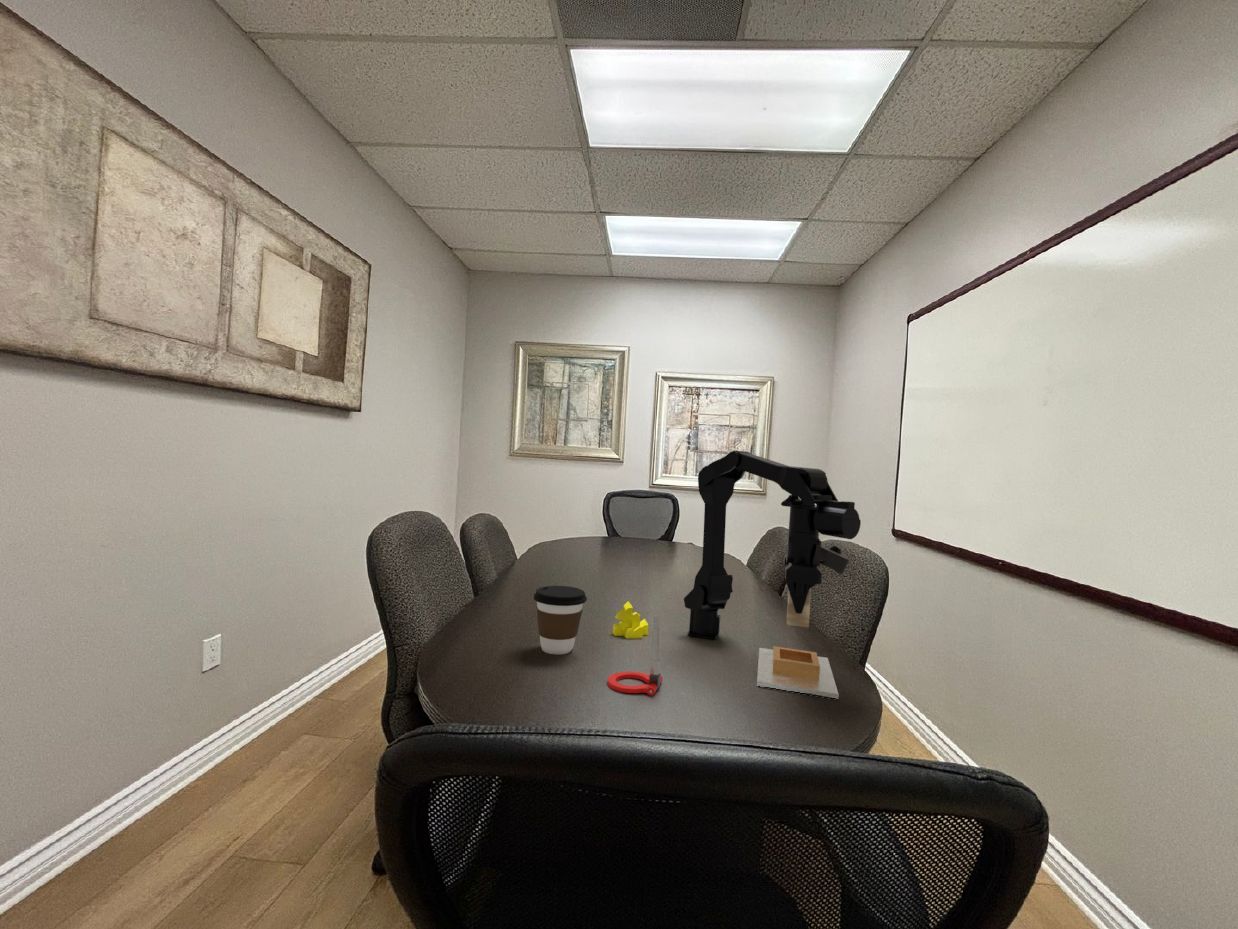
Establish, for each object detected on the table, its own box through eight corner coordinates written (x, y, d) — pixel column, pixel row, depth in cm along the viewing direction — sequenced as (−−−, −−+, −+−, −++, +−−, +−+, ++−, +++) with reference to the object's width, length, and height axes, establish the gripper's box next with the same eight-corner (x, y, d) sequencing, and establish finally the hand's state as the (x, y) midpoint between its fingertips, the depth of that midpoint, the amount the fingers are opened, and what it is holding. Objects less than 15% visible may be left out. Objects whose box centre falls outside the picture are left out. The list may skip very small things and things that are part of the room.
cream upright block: (787, 624, 108) (789, 583, 108) (786, 619, 112) (789, 579, 112) (808, 627, 107) (811, 586, 107) (807, 622, 111) (810, 582, 111)
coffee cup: (519, 652, 111) (523, 592, 111) (546, 637, 121) (550, 582, 121) (568, 662, 107) (572, 600, 107) (592, 646, 117) (595, 590, 117)
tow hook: (601, 692, 96) (653, 699, 93) (603, 616, 96) (655, 622, 94) (615, 675, 104) (663, 681, 101) (616, 606, 104) (665, 610, 102)
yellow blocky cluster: (651, 638, 126) (653, 604, 126) (617, 639, 124) (619, 604, 124) (642, 630, 132) (644, 597, 132) (610, 631, 129) (612, 597, 129)
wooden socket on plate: (756, 686, 102) (757, 667, 102) (758, 652, 121) (760, 636, 121) (838, 700, 98) (839, 680, 98) (827, 662, 117) (828, 646, 117)
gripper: (854, 541, 98) (848, 629, 98) (841, 530, 116) (836, 605, 116) (788, 535, 101) (782, 620, 101) (786, 525, 119) (781, 598, 119)
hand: (798, 610), depth 110 cm, fingers closed on cream upright block, 4 cm apart
